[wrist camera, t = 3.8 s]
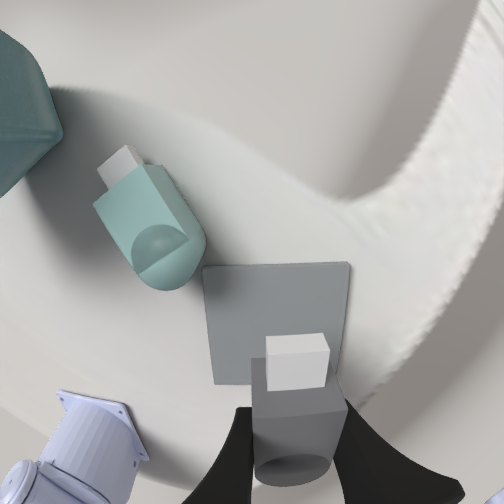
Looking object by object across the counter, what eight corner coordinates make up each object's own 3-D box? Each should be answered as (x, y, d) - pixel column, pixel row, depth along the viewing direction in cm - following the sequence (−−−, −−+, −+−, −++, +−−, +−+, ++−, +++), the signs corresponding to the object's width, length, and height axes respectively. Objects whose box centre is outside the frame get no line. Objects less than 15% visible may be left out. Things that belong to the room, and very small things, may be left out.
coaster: (333, 373, 20) (335, 377, 19) (215, 379, 20) (214, 384, 19) (347, 261, 18) (350, 264, 17) (203, 266, 17) (201, 269, 17)
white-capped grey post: (313, 433, 14) (323, 482, 10) (253, 437, 14) (255, 488, 10) (330, 319, 12) (357, 372, 8) (249, 323, 12) (250, 382, 8)
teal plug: (217, 250, 17) (209, 269, 14) (172, 277, 18) (156, 301, 14) (147, 141, 15) (123, 134, 12) (106, 174, 16) (76, 176, 12)
